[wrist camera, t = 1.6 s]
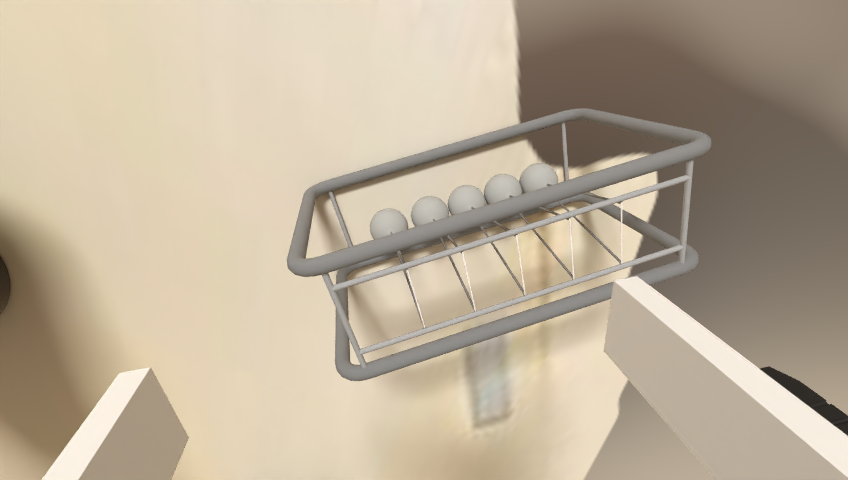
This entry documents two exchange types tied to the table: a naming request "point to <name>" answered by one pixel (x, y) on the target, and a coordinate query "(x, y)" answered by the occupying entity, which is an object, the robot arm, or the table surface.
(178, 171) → the table surface
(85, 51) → the table surface
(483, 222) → the newton's cradle
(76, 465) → the robot arm
